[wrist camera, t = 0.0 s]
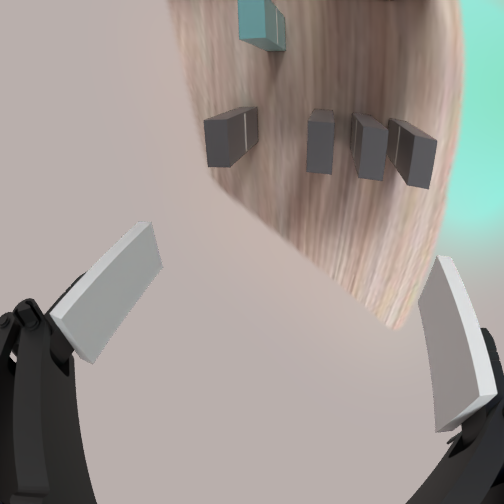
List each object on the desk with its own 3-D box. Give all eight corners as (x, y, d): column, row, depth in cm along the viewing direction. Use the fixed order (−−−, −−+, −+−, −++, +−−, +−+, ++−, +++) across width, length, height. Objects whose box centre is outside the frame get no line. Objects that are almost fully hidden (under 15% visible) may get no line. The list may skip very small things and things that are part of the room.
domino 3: (313, 108, 32) (307, 120, 23) (333, 110, 31) (335, 123, 22) (313, 144, 35) (305, 172, 25) (331, 146, 34) (332, 174, 25)
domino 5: (389, 118, 30) (414, 135, 20) (406, 121, 29) (437, 140, 20) (385, 153, 33) (406, 185, 23) (402, 156, 32) (429, 189, 23)
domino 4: (352, 112, 31) (362, 126, 21) (370, 115, 30) (389, 130, 21) (349, 148, 34) (357, 177, 24) (367, 150, 33) (383, 181, 24)
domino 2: (265, 18, 26) (236, -6, 16) (284, 17, 25) (264, -9, 16) (266, 51, 29) (238, 39, 19) (286, 50, 28) (266, 37, 19)
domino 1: (239, 107, 34) (203, 120, 25) (257, 106, 34) (227, 119, 24) (241, 141, 37) (207, 167, 28) (258, 141, 37) (230, 167, 27)
